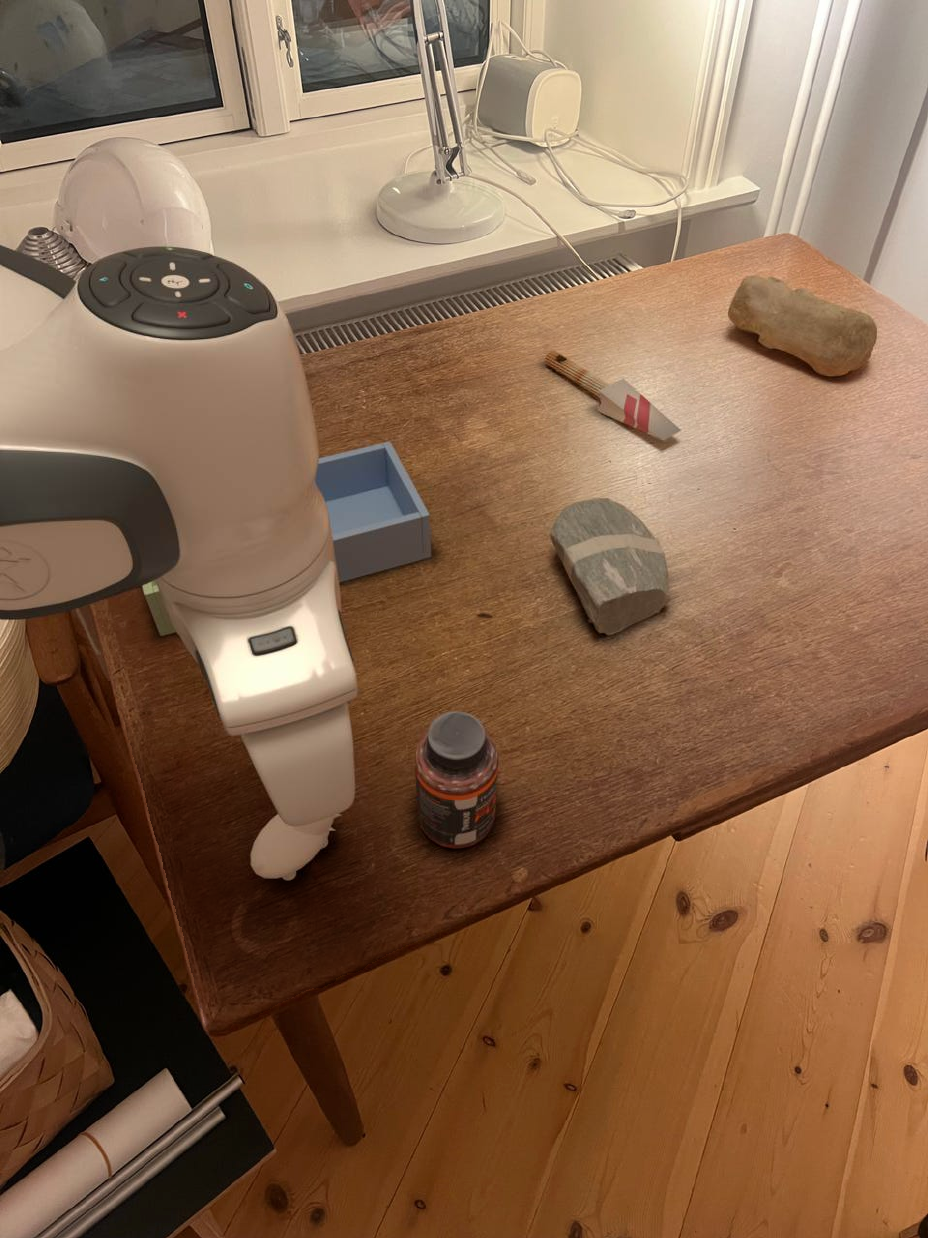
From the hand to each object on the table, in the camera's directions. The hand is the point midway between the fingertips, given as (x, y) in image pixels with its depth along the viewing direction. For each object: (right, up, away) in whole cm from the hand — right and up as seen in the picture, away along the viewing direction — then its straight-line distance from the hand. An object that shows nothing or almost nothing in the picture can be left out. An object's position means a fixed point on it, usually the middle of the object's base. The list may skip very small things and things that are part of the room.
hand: (288, 726), depth 57 cm
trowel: (+27, +31, +48) cm, 64 cm away
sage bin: (-12, +11, +30) cm, 34 cm away
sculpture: (+51, +39, +55) cm, 85 cm away
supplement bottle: (+10, -9, +14) cm, 19 cm away
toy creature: (-1, -11, +12) cm, 16 cm away
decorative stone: (+24, +10, +30) cm, 40 cm away
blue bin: (0, +15, +34) cm, 37 cm away
